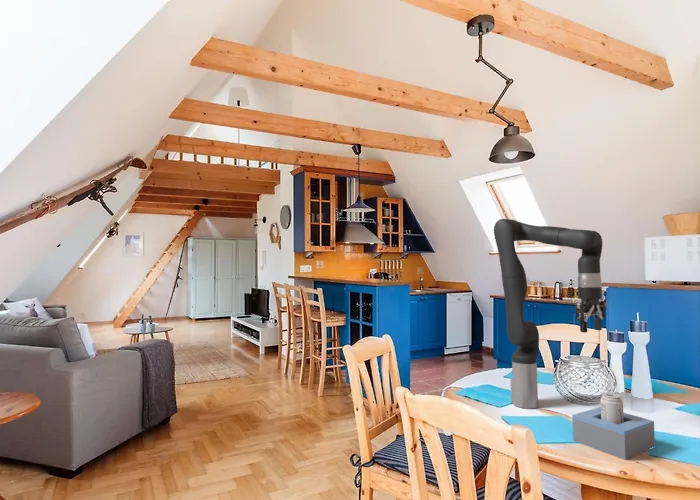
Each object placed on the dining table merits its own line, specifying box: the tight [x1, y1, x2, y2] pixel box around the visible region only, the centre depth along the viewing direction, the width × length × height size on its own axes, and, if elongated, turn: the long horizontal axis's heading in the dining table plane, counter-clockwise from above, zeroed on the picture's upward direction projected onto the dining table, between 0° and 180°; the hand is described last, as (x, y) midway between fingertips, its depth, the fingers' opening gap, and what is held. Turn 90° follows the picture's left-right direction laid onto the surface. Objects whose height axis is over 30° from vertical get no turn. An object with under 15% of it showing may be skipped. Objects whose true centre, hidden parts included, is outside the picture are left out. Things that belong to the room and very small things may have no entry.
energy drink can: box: [600, 392, 624, 424], centre depth 135 cm, size 6×6×15 cm
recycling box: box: [571, 406, 656, 461], centre depth 135 cm, size 16×16×8 cm
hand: (591, 331), depth 155 cm, fingers open, 8 cm apart
